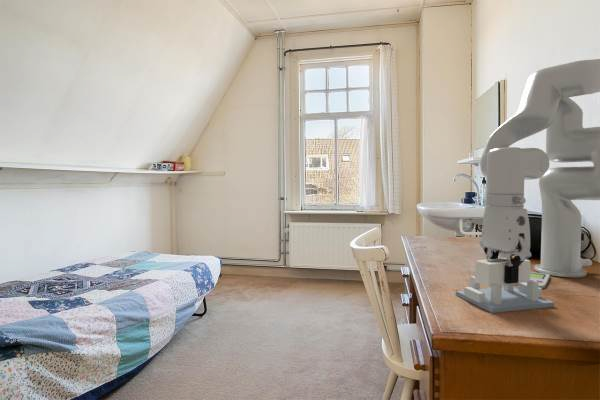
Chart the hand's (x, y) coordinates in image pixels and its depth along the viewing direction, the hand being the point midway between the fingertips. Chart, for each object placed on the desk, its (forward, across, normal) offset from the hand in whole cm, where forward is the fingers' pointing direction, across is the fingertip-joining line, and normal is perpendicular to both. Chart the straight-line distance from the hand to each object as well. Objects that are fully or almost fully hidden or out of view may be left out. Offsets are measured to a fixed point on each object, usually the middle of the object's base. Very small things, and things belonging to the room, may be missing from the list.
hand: (502, 279), depth 81 cm
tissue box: (+1, 0, 0) cm, 1 cm away
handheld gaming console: (+6, +13, -19) cm, 24 cm away
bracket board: (+5, 0, 0) cm, 5 cm away
